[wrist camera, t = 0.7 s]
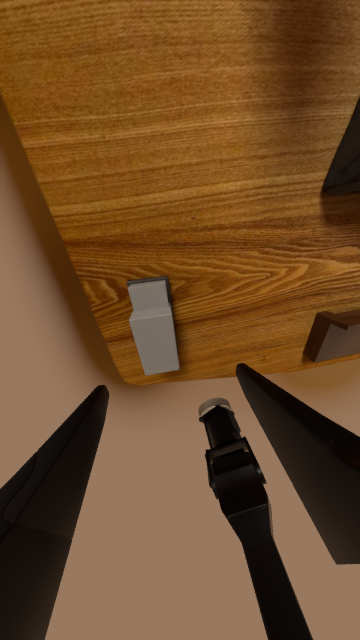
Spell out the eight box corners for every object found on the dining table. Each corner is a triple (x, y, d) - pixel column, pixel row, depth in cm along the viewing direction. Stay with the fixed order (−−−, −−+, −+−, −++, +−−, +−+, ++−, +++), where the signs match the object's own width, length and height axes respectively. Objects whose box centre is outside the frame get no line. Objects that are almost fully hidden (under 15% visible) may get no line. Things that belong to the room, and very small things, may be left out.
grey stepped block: (177, 349, 23) (182, 375, 18) (148, 354, 22) (145, 381, 18) (167, 275, 17) (170, 284, 13) (128, 280, 17) (117, 290, 12)
